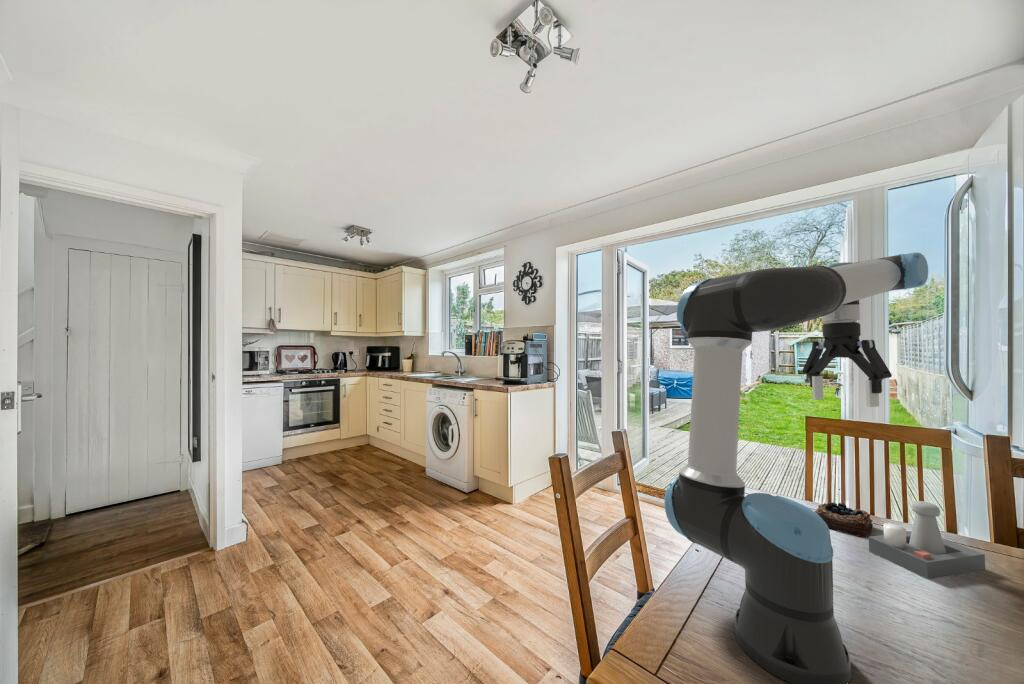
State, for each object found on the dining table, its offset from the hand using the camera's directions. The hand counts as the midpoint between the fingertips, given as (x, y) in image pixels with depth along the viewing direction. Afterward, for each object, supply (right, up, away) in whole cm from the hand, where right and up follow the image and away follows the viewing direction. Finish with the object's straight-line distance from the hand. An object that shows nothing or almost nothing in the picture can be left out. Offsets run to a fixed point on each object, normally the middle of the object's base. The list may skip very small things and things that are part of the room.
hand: (843, 402), depth 97 cm
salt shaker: (+9, -35, -12) cm, 38 cm away
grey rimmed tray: (+8, -34, -12) cm, 37 cm away
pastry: (+4, -35, +5) cm, 36 cm away
